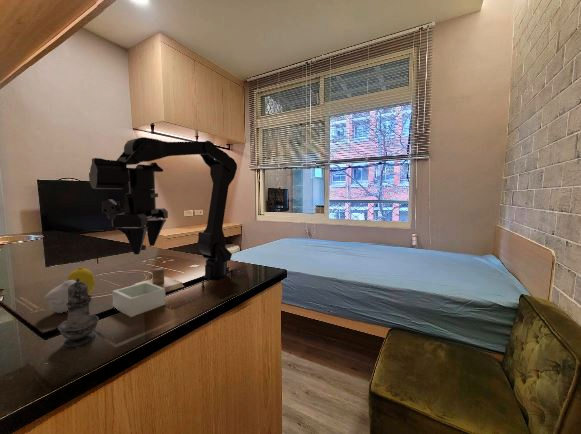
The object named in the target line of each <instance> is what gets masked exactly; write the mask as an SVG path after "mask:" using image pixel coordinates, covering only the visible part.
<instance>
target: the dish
mask: <svg viewBox="0 0 581 434" xmlns="http://www.w3.org/2000/svg"><path fill="white" fill-rule="evenodd" d="M135 284H136V283H135ZM165 305H166V293H165V288H162V287H160V286H157V285H154V284H152V283H149V282H144V283H140V284H136V285H134V284H133V285H129V286H126V287H123V288H118V289H114V290H112V307H113V306H114V307H115V308H116V309H117V311H119V312H121V313H123V314H124V315H126V316H127V317H130V318H132V317H135V316H139V315H141V314H143V313H147V312H149V311H152V310H154V309H155V310H156V309H157V308H160V307H163V306H165ZM115 308H114V309H115ZM116 309H115V310H116Z"/></svg>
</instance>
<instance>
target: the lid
mask: <svg viewBox="0 0 581 434" xmlns="http://www.w3.org/2000/svg"><path fill="white" fill-rule="evenodd" d="M151 277H152V278H151V279H147V280H144V281H141V282H136V283H133V285H136V284H140V283H144V282H149V283H152V284H154V285H157V286H160V287H162V288H165V292H166V291H169V290H172V289H175V288H178V287H181V286H182V285H183V282H182V281H179V280H176V279H173V278H171V277H167V276H165V268H163V267H156V268H152V276H151ZM181 288H182V287H181ZM178 289H179V288H178ZM175 290H176V289H175ZM172 291H173V290H172ZM169 292H170V291H169ZM166 293H167V292H166Z"/></svg>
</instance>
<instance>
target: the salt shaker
mask: <svg viewBox="0 0 581 434" xmlns="http://www.w3.org/2000/svg"><path fill="white" fill-rule="evenodd" d="M79 280H80V279H79V278H77V279H76V280H75V281H76V282H75V283H73V284H71V285H70V286H69V287H68V303H66V306H67V307H68V312H67V318H66V319H65V320H63V321H62V322H61V323H60V324H58V326H57V330H58V331H59V332H60V334H61V336H62V337H63V338H64V339H65V340H63V341H62V342H61V343H60V348H61V349H63V350H76V349H81V348H83V347H86V346H90V345H91V344H92V343H94V342H96V341H97V339H98V337H99V336H98V334H97V333H96V332H94V331H95V329H96V328H97V326H98V322H99V320H100V318H99V316H97V315H94V314H91V313H90V305H89V304H90V303H91V302H92V301H91V299H90V298H89V293H88V286H87V284H86V283H84V282H79Z"/></svg>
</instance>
